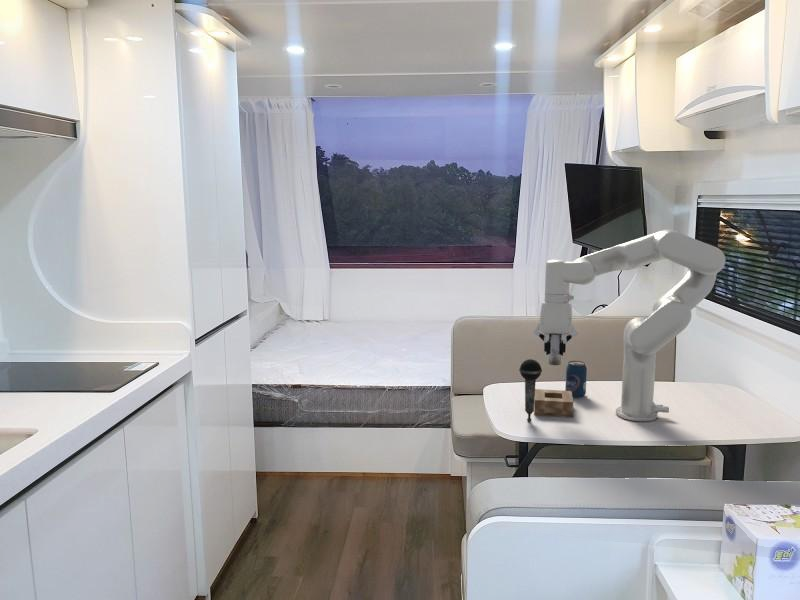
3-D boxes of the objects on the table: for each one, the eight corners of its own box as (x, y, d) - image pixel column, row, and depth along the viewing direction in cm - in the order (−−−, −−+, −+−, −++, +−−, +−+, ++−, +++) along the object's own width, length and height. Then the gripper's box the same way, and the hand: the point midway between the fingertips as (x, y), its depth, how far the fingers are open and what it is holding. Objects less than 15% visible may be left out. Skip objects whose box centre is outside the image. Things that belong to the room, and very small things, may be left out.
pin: (560, 362, 208) (561, 332, 206) (560, 365, 204) (561, 335, 202) (547, 361, 209) (548, 332, 207) (547, 364, 205) (549, 334, 203)
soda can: (561, 396, 223) (562, 363, 221) (570, 391, 228) (571, 359, 227) (580, 400, 219) (581, 366, 217) (588, 395, 224) (590, 362, 222)
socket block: (570, 405, 213) (571, 391, 213) (572, 417, 202) (573, 402, 201) (534, 403, 216) (534, 389, 215) (534, 414, 204) (534, 400, 204)
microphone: (540, 418, 201) (542, 357, 198) (540, 426, 194) (542, 363, 191) (518, 417, 202) (519, 356, 199) (517, 424, 196) (519, 361, 192)
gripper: (583, 297, 205) (580, 352, 208) (530, 295, 208) (528, 350, 211) (584, 301, 198) (582, 358, 201) (529, 299, 201) (528, 355, 204)
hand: (554, 353), depth 206 cm, fingers closed on pin, 4 cm apart
